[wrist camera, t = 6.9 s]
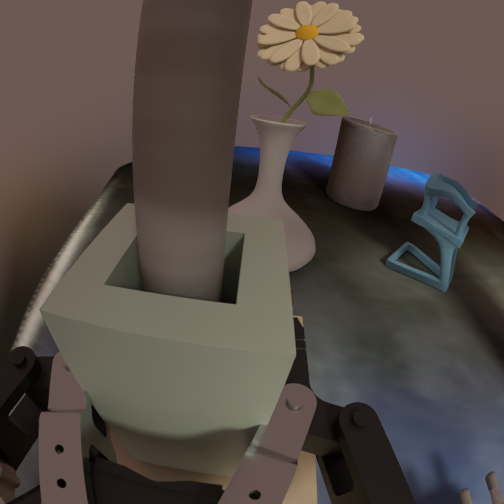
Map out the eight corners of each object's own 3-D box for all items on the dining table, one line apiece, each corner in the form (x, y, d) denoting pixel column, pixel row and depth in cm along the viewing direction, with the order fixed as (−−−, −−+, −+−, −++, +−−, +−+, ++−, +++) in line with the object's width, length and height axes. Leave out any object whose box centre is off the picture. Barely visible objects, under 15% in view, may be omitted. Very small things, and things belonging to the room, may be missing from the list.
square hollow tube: (156, 377, 14) (127, 203, 9) (248, 390, 14) (282, 219, 9) (134, 459, 10) (39, 309, 5) (242, 477, 10) (296, 354, 5)
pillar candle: (319, 185, 52) (334, 106, 44) (365, 191, 53) (382, 118, 45) (336, 208, 44) (357, 115, 36) (387, 214, 45) (411, 130, 37)
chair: (441, 302, 27) (488, 205, 20) (383, 265, 32) (418, 168, 25) (453, 276, 32) (490, 194, 25) (404, 246, 36) (433, 165, 30)
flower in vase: (186, 237, 32) (203, -1, 18) (268, 218, 38) (297, 22, 24) (255, 314, 23) (309, -34, 10) (344, 274, 29) (403, 26, 16)
